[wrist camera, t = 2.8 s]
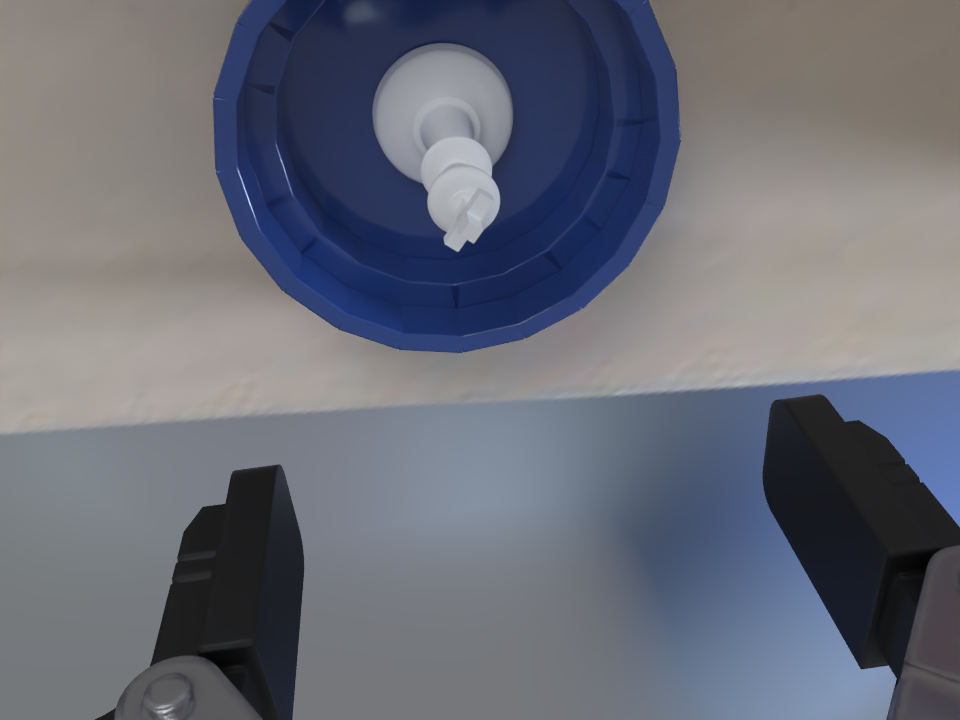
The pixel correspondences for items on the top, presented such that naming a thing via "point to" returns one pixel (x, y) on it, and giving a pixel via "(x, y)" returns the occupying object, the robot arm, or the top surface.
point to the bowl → (403, 202)
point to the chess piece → (447, 132)
